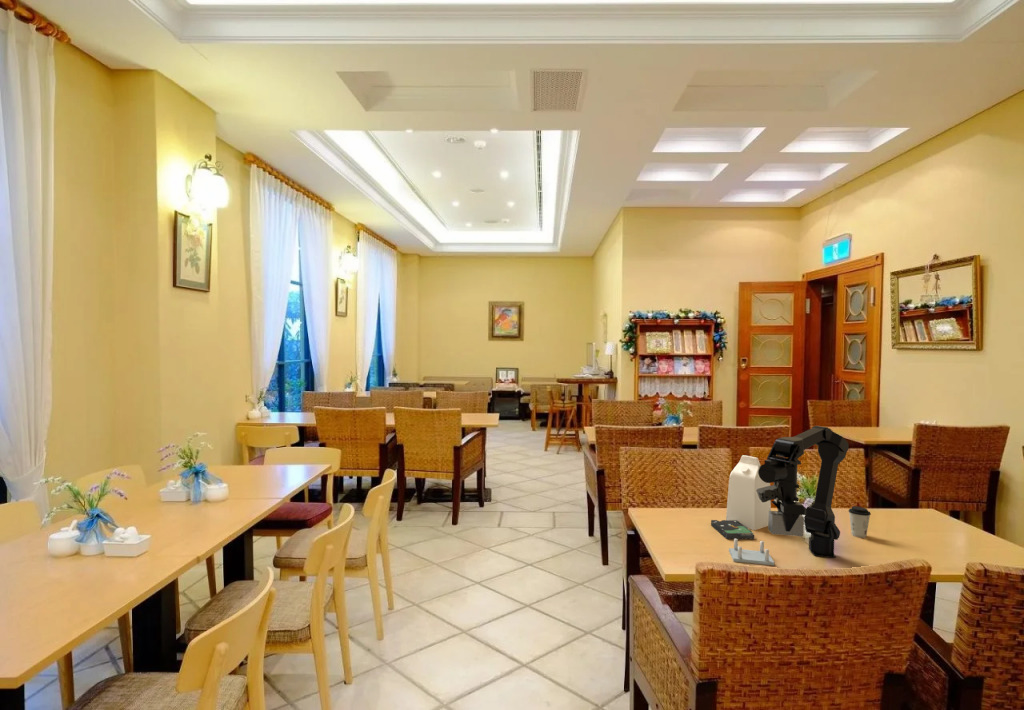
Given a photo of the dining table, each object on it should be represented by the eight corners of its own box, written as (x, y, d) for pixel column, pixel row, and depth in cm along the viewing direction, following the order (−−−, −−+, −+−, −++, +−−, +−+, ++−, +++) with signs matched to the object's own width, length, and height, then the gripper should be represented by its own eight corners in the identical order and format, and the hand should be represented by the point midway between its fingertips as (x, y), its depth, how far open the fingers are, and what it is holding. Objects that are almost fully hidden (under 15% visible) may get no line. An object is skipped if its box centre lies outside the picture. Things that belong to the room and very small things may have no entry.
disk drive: (710, 527, 206) (726, 540, 191) (710, 519, 206) (726, 532, 191) (736, 527, 206) (755, 540, 191) (736, 519, 206) (755, 532, 191)
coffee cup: (873, 539, 193) (874, 512, 193) (852, 538, 194) (853, 510, 194) (865, 533, 200) (865, 506, 199) (844, 531, 201) (845, 505, 201)
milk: (771, 524, 208) (772, 457, 207) (754, 530, 201) (755, 461, 201) (742, 516, 218) (744, 452, 217) (725, 521, 211) (727, 455, 211)
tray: (767, 554, 177) (767, 541, 177) (774, 565, 169) (774, 551, 168) (728, 551, 180) (729, 537, 180) (733, 561, 171) (733, 547, 171)
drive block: (798, 531, 170) (799, 512, 170) (803, 536, 165) (803, 516, 165) (768, 529, 172) (768, 510, 172) (771, 533, 167) (772, 514, 167)
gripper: (752, 470, 179) (751, 517, 179) (766, 484, 161) (765, 536, 161) (788, 473, 177) (787, 520, 177) (807, 487, 159) (805, 540, 159)
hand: (785, 528), depth 169 cm, fingers closed on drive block, 4 cm apart
